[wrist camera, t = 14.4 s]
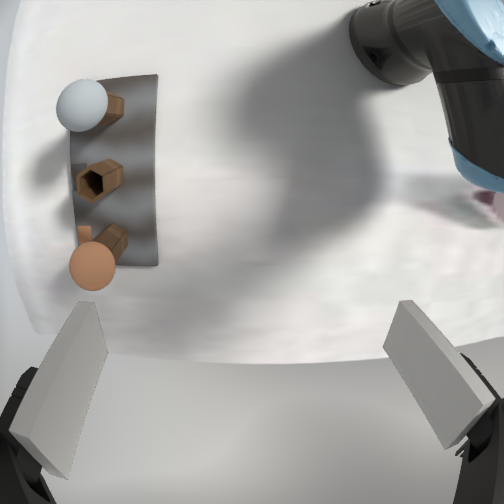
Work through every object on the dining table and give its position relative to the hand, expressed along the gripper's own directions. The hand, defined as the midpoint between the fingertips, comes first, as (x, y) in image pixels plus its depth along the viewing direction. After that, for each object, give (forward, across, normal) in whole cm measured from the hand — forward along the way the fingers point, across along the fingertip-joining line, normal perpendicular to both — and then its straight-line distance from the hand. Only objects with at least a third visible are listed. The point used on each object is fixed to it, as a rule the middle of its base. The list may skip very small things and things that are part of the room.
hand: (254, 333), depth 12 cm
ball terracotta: (+24, -17, -8) cm, 31 cm away
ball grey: (+24, -17, +11) cm, 32 cm away
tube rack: (+32, -17, +2) cm, 36 cm away
